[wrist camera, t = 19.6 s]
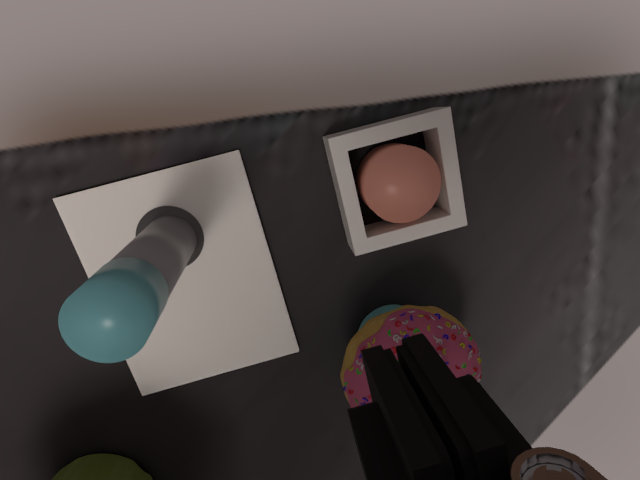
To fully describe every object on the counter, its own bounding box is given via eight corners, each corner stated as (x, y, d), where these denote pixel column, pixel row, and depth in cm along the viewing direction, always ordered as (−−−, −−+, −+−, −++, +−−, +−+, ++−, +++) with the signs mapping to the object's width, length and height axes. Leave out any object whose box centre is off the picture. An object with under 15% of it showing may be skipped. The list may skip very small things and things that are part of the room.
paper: (299, 349, 29) (299, 352, 29) (143, 393, 29) (142, 396, 28) (238, 149, 25) (238, 150, 25) (55, 198, 24) (51, 199, 24)
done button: (430, 203, 27) (446, 212, 24) (364, 221, 27) (373, 232, 24) (419, 134, 25) (434, 136, 23) (349, 153, 25) (357, 157, 23)
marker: (204, 255, 26) (162, 349, 16) (155, 268, 26) (80, 372, 15) (187, 208, 25) (131, 274, 15) (136, 221, 25) (42, 299, 15)
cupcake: (346, 270, 28) (401, 378, 16) (464, 288, 29) (588, 400, 18) (320, 381, 30) (352, 544, 19) (430, 393, 32) (522, 552, 20)
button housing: (450, 215, 28) (467, 225, 25) (347, 243, 27) (355, 256, 25) (433, 107, 25) (450, 106, 23) (322, 136, 25) (327, 138, 23)
